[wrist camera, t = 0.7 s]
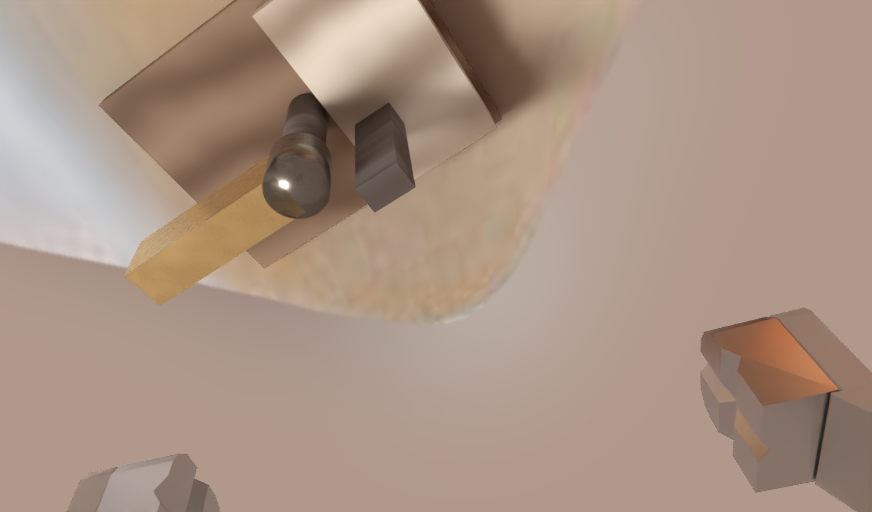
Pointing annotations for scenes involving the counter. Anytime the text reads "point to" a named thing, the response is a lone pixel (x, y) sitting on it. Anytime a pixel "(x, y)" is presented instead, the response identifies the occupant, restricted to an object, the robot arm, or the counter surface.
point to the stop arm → (235, 217)
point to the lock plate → (234, 117)
